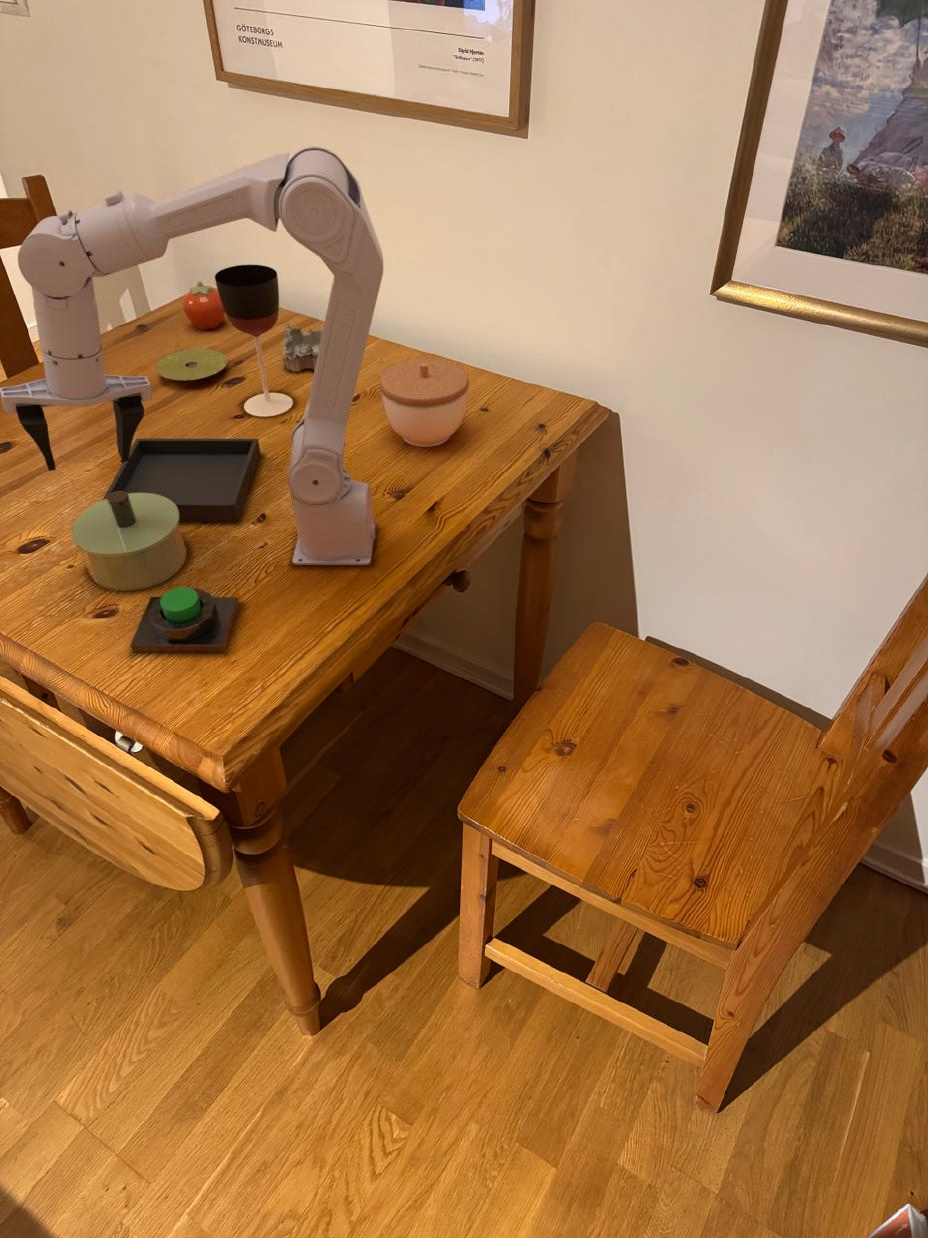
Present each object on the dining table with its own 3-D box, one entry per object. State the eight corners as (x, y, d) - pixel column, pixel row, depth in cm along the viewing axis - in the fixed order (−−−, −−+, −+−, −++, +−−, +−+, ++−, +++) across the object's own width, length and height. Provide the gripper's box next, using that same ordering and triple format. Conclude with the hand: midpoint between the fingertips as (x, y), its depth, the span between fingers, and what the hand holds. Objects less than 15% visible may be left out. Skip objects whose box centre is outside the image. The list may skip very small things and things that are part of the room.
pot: (196, 533, 110) (186, 497, 106) (173, 591, 101) (162, 555, 98) (107, 532, 110) (94, 497, 106) (76, 591, 101) (62, 555, 98)
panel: (239, 604, 99) (234, 584, 97) (224, 653, 94) (219, 633, 92) (153, 604, 100) (146, 584, 98) (133, 653, 94) (125, 633, 92)
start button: (204, 598, 96) (201, 586, 95) (196, 623, 93) (192, 611, 92) (169, 598, 96) (165, 586, 95) (159, 622, 93) (155, 610, 92)
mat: (238, 360, 145) (236, 349, 144) (215, 392, 137) (212, 381, 136) (174, 356, 146) (172, 346, 145) (148, 388, 138) (144, 377, 137)
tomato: (217, 313, 159) (208, 269, 154) (237, 326, 155) (228, 281, 150) (180, 324, 156) (169, 280, 151) (199, 337, 152) (189, 292, 146)
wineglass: (286, 419, 131) (264, 288, 117) (232, 414, 132) (205, 283, 118) (303, 394, 136) (285, 266, 123) (251, 389, 138) (228, 262, 124)
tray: (261, 455, 123) (257, 438, 121) (238, 522, 111) (234, 504, 109) (141, 455, 123) (136, 438, 121) (105, 522, 111) (99, 504, 109)
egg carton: (289, 345, 150) (285, 322, 147) (332, 343, 150) (329, 320, 147) (282, 373, 142) (278, 349, 139) (328, 371, 142) (325, 348, 139)
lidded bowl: (367, 443, 125) (360, 373, 118) (411, 406, 134) (407, 337, 126) (443, 465, 121) (441, 393, 113) (483, 425, 129) (484, 355, 122)
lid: (192, 499, 107) (183, 467, 103) (165, 561, 98) (155, 528, 94) (94, 499, 107) (82, 467, 104) (58, 561, 98) (45, 527, 95)
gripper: (136, 325, 93) (145, 435, 102) (-14, 333, 87) (10, 450, 95) (152, 354, 89) (161, 467, 98) (-4, 365, 82) (21, 485, 91)
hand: (87, 461), depth 96 cm, fingers open, 7 cm apart
